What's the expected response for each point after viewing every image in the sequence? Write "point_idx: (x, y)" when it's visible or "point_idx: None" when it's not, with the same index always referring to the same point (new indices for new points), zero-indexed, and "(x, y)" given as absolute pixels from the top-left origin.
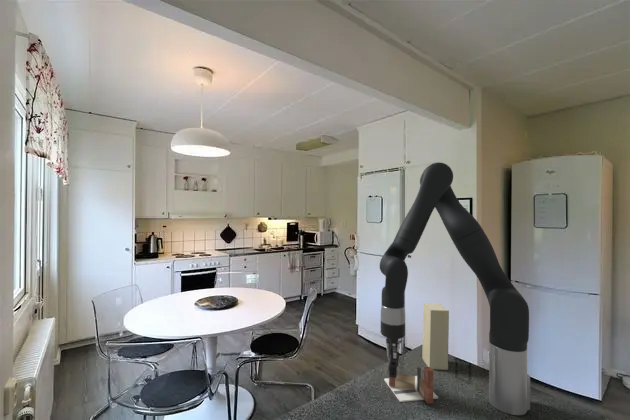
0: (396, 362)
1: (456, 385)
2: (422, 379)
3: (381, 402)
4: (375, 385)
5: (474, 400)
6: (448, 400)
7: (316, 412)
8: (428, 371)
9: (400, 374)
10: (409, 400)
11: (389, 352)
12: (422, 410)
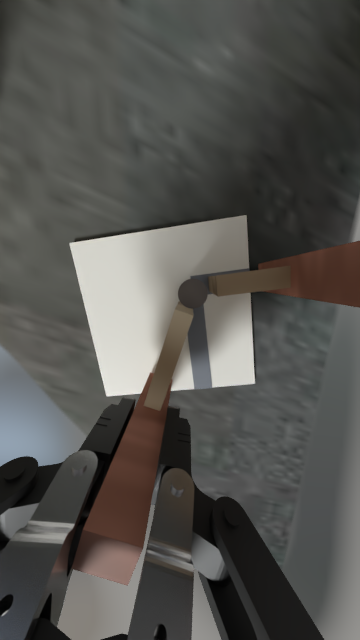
0: (247, 569)
1: (137, 46)
2: (219, 277)
3: (246, 438)
4: None
5: (280, 3)
6: (263, 170)
7: None
8: None
9: (158, 384)
10: (251, 348)
11: (58, 604)
12: (311, 319)
